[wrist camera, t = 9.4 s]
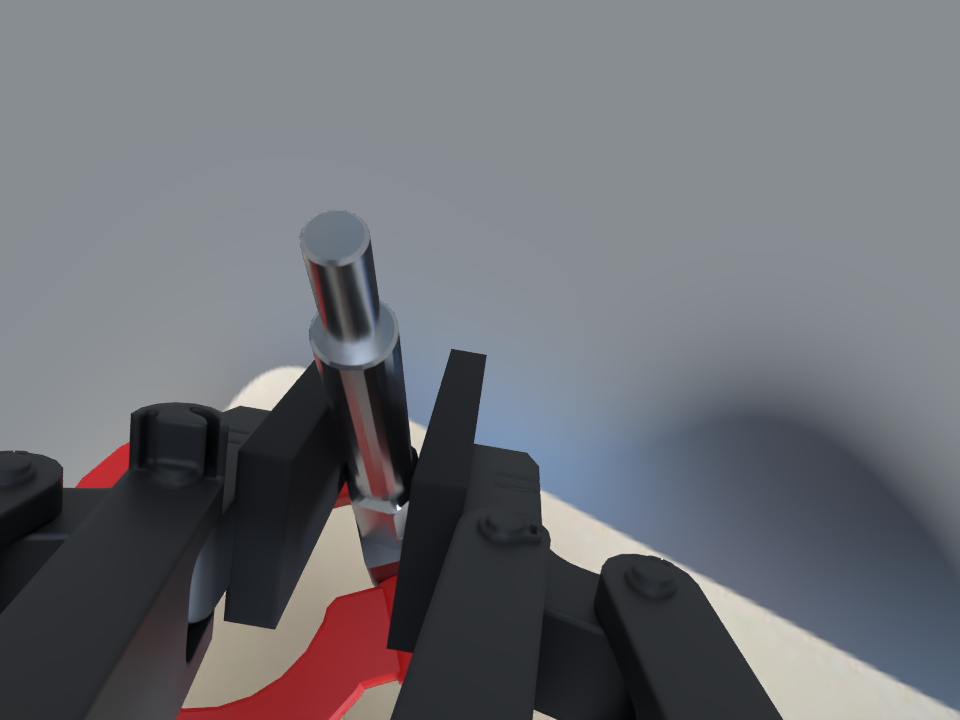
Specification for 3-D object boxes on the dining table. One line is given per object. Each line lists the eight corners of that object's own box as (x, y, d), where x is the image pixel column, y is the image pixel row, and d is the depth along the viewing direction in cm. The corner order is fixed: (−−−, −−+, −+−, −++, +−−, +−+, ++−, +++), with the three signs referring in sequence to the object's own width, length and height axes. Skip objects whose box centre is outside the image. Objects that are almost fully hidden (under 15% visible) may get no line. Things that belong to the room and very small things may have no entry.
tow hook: (48, 838, 17) (473, 713, 19) (-742, 943, 6) (514, 598, 7) (37, 470, 21) (392, 389, 22) (-461, 90, 9) (334, -29, 11)
